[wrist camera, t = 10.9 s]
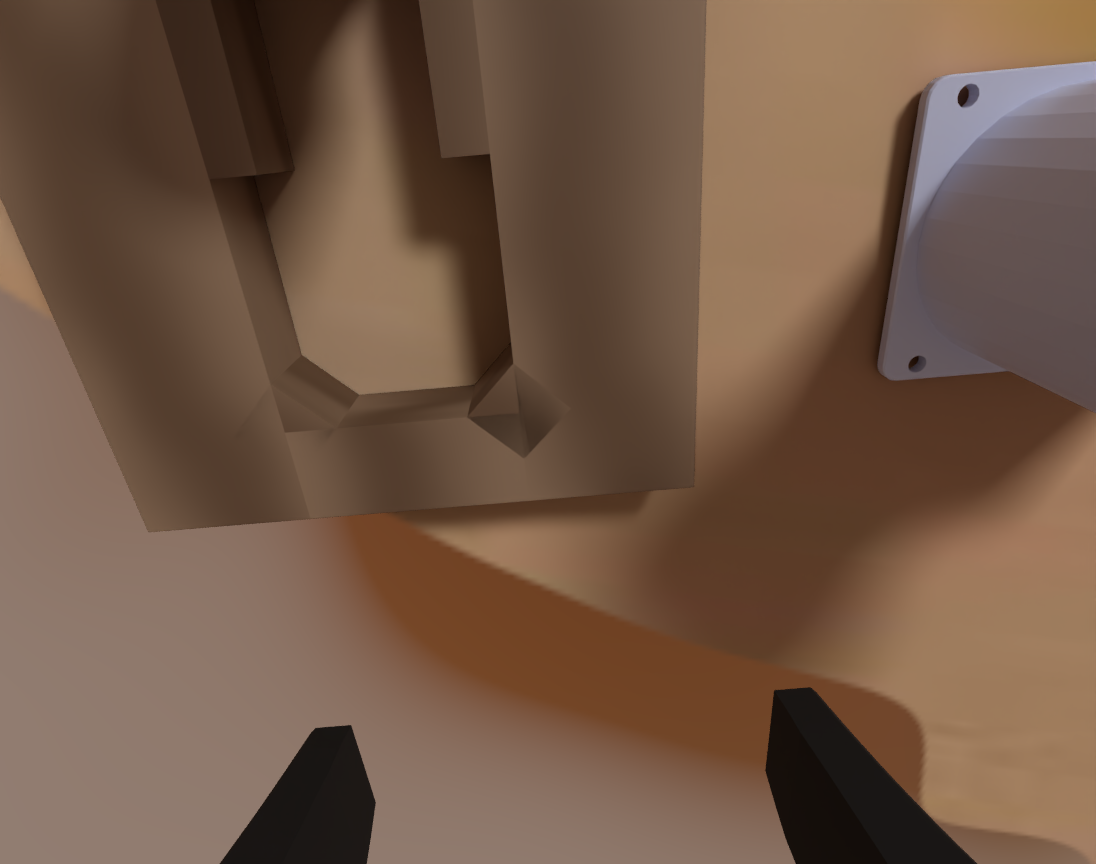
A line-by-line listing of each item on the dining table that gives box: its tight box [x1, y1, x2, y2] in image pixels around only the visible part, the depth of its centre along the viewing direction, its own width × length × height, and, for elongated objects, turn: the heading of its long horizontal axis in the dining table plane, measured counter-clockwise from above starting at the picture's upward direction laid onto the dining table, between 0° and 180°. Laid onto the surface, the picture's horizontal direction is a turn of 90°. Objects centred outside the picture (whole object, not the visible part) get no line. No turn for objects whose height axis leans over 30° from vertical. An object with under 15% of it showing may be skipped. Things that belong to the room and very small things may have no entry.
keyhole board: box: [0, 0, 706, 532], centre depth 14 cm, size 16×22×2 cm
